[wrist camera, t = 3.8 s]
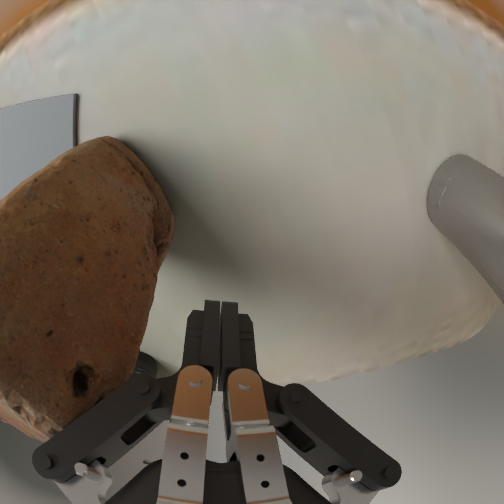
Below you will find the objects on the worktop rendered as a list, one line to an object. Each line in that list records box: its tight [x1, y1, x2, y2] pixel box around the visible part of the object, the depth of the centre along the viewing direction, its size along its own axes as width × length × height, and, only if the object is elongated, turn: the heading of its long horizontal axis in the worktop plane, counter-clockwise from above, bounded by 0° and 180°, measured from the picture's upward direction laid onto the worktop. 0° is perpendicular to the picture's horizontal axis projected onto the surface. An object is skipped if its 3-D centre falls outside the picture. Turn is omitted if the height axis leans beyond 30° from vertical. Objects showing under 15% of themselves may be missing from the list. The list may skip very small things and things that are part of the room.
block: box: [0, 136, 175, 443], centre depth 13 cm, size 11×8×20 cm
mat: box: [0, 94, 77, 201], centre depth 19 cm, size 22×18×1 cm
